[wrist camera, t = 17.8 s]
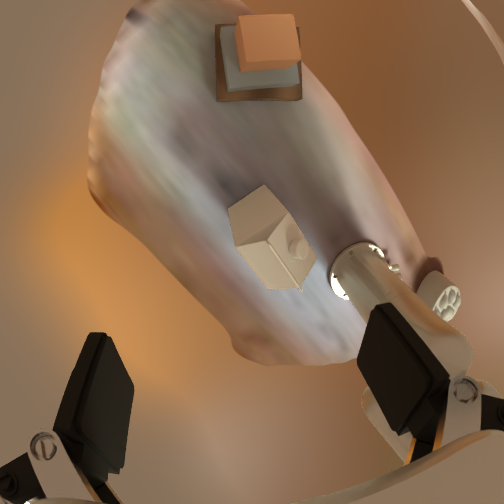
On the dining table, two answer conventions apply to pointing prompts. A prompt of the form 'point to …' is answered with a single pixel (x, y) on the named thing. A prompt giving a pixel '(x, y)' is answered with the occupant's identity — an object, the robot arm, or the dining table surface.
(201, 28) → the dining table surface
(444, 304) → the lumpy-topped squat cylinder
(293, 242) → the milk carton
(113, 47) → the dining table surface
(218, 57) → the base block
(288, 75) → the grey square block
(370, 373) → the robot arm
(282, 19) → the orange cube
